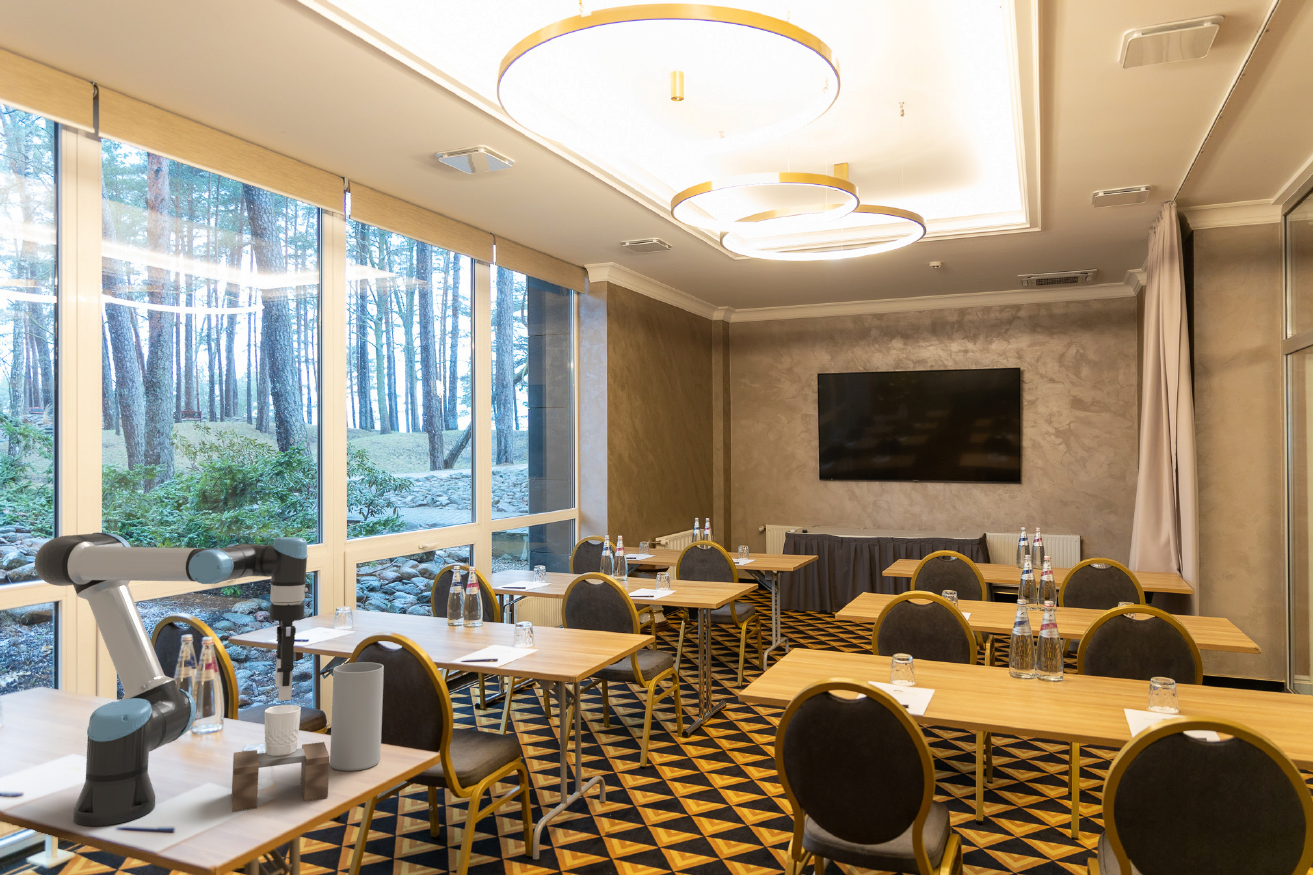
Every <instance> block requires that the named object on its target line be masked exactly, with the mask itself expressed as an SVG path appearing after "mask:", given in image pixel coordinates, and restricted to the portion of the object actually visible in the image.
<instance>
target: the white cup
mask: <svg viewBox="0 0 1313 875" xmlns="http://www.w3.org/2000/svg"><path fill="white" fill-rule="evenodd" d="M301 709H302V707H301V706H299V705H295V704H281V705H275V706H270V707H268V708H266V709H265V710H264V742H265V744H264V746H265V752H264V753H266V754H267V755H270V756H282V755H288V754H291V753H293V752H295V751H296V750H297V749H298V739H299V733H300V732H299V731H300V722H301V721H300V720H301Z"/></svg>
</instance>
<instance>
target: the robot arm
mask: <svg viewBox="0 0 1313 875" xmlns="http://www.w3.org/2000/svg"><path fill="white" fill-rule="evenodd" d="M307 561H308V542H307V540H306V538H304V537H301V536H300V537H299V536H282V537H281V536H279V537H275V538H274V539H273V544H270V545H269V544H268V545H266V544H265V545H264V544H250V543H249V544H247V543H234V544H233V543H231V544H227V545H226V546H225V547H221V548H220V547H215V548H213V547H211V548H210V547H207V548H206V547H201V548H200V547H199V548H197V547H154V546H153V547H146V546H145V547H143V546H142V547H141V546H136V547H135V546H131V544H130V543H129V542H128V541H127V540H126V539H125V538H124V537H122V536H120V535H118V534H115V533H109V532H99V531H97V532H93V533H85V534H72V535H70V534H69V535H61V536H58V537H54V538H52V539H49V540H48V541H46V542H45V543H44V544H43V545H42V546H41V547H40V548H39V549H38V551H37V552H36V555H35V557H34V569H35V571H36V573H37V575H38V577H39V578H40V579H41V580H43V581H44V582H46V584H49V585H53V586H58V587H65V586H67V587H68V586H73V588H74V591H75V593H76V596H77V597H78V598H81V599H84V600H86V601H87V602H88V604H89V606H90V609H91V612H92V614H93V617H94V619H95V622H96V624H97V627H98V629H99V632H100V634H101V636H102V639H103V641H104V644H105V646H106V649H107V651H108V654H109V656H110V659H111V662H112V663H113V666H114V669H115V671H116V674H117V677H118V679H119V681H120V683H121V686H122V688H123V690H124V695H123V697H122V698H121V699H119V700H118V701H112V702H108V703H106V704H105V703H104V704H103V705H101V706H99V707H98V708H96V709H95V710H93V712H92V713H91V714H90V716H89V722H88V726H87V730H86V731H87V733H86V734H87V735H86V736H87V744H86V748H87V750H86V765H85V766H86V767H85V779H84V780H85V781H84V785H82V786H83V787H82V789H81V792H80V793H79V794H80V795H79V796H78V798H77V801H76V804H75V807H74V808H73V810H74V811H73V821H74V822H75V823H76V824H78V825H80V826H87V827H100V826H101V827H102V826H103V827H104V826H109V825H110V826H111V825H117V824H121V823H126V822H129V821H133V820H136V819H139V818H141V817H143V816H146V815H147V814H150V813H151V812H152V811H153V810H154V809H155V807H156V793H155V790H154V787H153V784H152V781H151V778H150V775H149V756H150V755H149V754H150V752H152V751H154V750H157V749H158V748H159V749H160V748H161V747H162V746H165V745H168V744H171V743H172V742H175V741H176V740H178V739H179V738H180V737H182V736H183V735H185V734H186V733H188V731H189V730H190V729H191V727H192V726H193V725H194V722H195V720H196V715H197V705H196V701H195V699H194V697H193V695H191V693H189V691H185V690H184V689H182V688H178V685H177V683H176V680H175V678H173V677H169V676H166V675H165V673H164V670H163V668H162V666H161V663H160V661H159V659H158V656H157V654H156V651H155V648H154V646H153V643H152V640H151V639H150V636H149V634H148V631H147V629H146V626H145V625H144V621H143V618H142V617H141V614H140V612H139V609H138V607H137V605H136V602H135V600H134V597H133V595H132V591H131V590H130V587H129V584H130V581H132V582H133V581H136V582H138V581H139V582H147V581H148V582H192V583H193V582H196V583H199V584H201V585H214V584H220V583H223V582H227V581H233V580H237V579H243V578H246V577H264V578H265V577H268V578H269V577H270V578H271V582H270V583H271V584H270V595H269V596H270V597H269V601H270V602H272V603H271V604H270V605H269V606H270V607H269V619H270V620H271V621H273V622H278V626H276V641H277V643H276V644H277V645H276V651H275V654H276V656H275V657H276V663H275V664H276V665H275V677H274V678H275V679H274V680H275V683H274V687H275V688H278V697H277V698H278V699H277V700H278V701H281V702H282V701H290V700H292V694H293V692H292V691H293V690H292V689H293V673H294V672H293V671H294V669H295V666H294V654H295V653H294V652H295V650H294V649H295V647H294V645H295V643H296V642H295V641H296V640H295V638H296V637H295V636H296V634H297V633H296V632H297V628H296V625H294V624H293V622H294V621H301V620H302V619H304V618H305V603H304V601H305V598H306V593H307V592H308V591H309V588H308V587H306V579H307V578H306V577H307V576H306V575H307V564H308V563H307Z"/></svg>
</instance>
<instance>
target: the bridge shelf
mask: <svg viewBox="0 0 1313 875" xmlns="http://www.w3.org/2000/svg"><path fill="white" fill-rule="evenodd" d="M325 743H326V742H325V741H322V742H314V743H313V742H312V743H305V744H302V745H301V748H297V750H296V751H295V752H293V753H291V754H288V755H282V756H270V755H267V754H266V752H260V753H258V749H254V750H253V749H252V750H245V751H237V752H233V755H232V756H233V758H232V781H231V812H232V813H233V812H241V811H248V810H253V809H257V808H258V790H259V769H260V768H267V767H268V768H269V767H276V766H277V767H278V766H284V765H292V764H300V763H301V765H300V787H301V791H302V795H303V796H302V797H303V799H304V802H308V801H313V800H312V799H316V800H320V799H321V800H323V799H327V798H326V797H328V796H329V779H330V778H329V776H330V775H329V774H330V754H329V751H328V749H327V746H326V744H325Z"/></svg>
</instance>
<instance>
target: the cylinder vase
mask: <svg viewBox="0 0 1313 875" xmlns="http://www.w3.org/2000/svg"><path fill="white" fill-rule="evenodd" d="M384 668H385V667H384V664H382V663H377V662H365V661H363V662H350V663H344V664H340V665H336V666H334V667H333V674H332V675H333V676H332V681H333V682H332V699H331V701H332V702H331V704H332V705H331V727H330V728H331V729H330V751H329V752H330V754H329V766H331V768H332V769H334V770H337V771H342V772H343V771H344V772H345V771H346V772H352V771H353V772H355V771H356V772H357V771H362V770H366V769H367V770H368V769H369V768H373V767H374V766H377V765H378V764H379V762H380V761H381V751H382V749H381V748H382V727H383V726H382V724H383V699H384V696H383V695H384V674H385V673H384V671H385V670H384Z"/></svg>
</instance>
